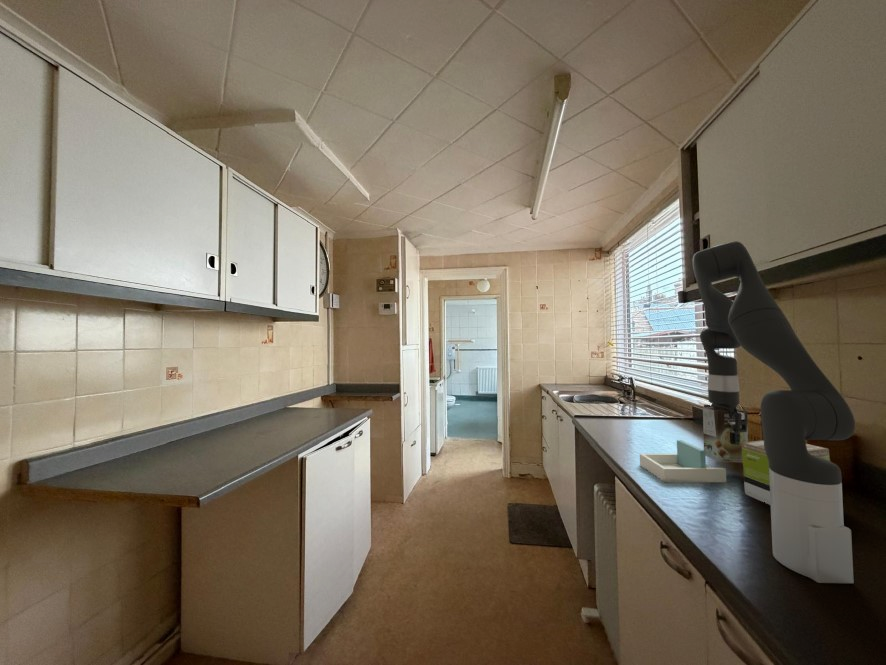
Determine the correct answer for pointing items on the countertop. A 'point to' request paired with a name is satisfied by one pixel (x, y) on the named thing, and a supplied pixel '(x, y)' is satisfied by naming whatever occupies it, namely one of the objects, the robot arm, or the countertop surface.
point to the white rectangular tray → (679, 469)
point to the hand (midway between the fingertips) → (725, 440)
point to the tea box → (765, 468)
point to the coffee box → (721, 436)
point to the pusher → (690, 455)
